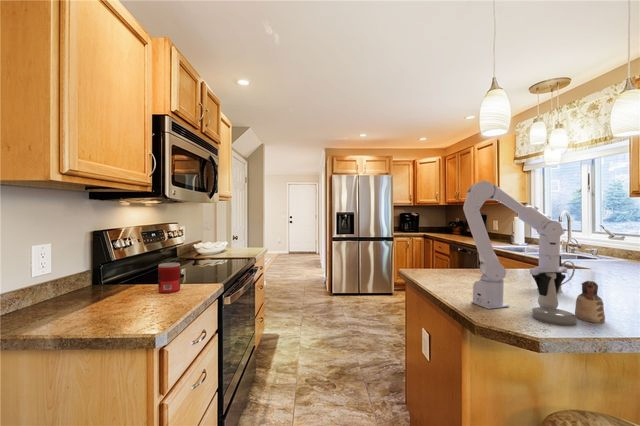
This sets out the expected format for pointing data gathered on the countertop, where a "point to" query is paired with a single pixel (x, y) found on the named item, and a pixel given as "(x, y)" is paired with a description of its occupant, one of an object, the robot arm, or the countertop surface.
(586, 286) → the figurine
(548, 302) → the salt shaker
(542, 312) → the coaster
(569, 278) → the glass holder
